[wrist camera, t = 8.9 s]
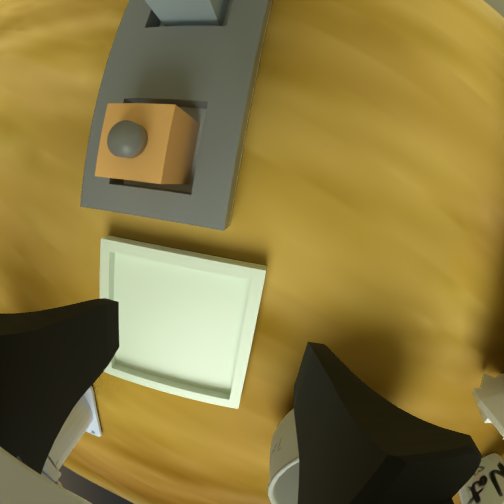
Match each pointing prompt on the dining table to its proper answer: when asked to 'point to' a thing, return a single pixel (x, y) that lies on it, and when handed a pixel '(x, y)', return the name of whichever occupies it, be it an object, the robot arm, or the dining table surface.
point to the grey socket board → (189, 100)
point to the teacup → (284, 463)
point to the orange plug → (147, 143)
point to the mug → (485, 483)
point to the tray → (181, 318)
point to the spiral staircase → (491, 400)
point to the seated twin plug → (190, 12)
